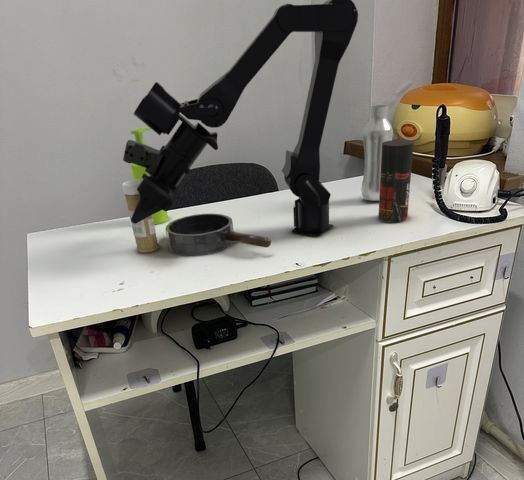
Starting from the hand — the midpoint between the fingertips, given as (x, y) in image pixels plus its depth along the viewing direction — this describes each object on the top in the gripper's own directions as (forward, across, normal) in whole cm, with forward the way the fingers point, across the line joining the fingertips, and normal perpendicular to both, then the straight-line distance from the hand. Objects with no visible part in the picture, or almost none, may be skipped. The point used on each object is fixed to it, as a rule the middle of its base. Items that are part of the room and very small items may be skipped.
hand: (134, 218), depth 95 cm
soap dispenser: (+4, -20, +6) cm, 21 cm away
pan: (-4, 0, +13) cm, 14 cm away
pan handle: (-11, +8, +18) cm, 23 cm away
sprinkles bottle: (+4, 0, +6) cm, 7 cm away
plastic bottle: (-33, -16, +43) cm, 56 cm away
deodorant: (-33, -2, +42) cm, 53 cm away
